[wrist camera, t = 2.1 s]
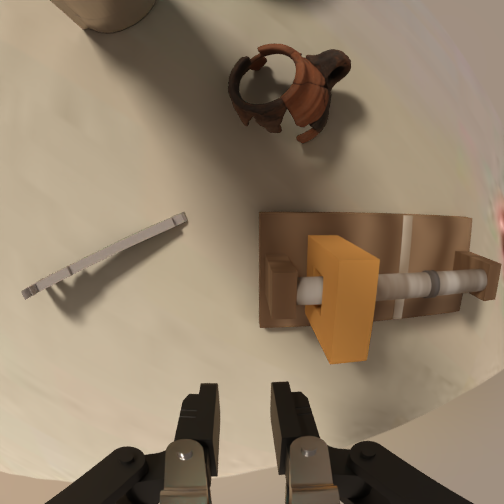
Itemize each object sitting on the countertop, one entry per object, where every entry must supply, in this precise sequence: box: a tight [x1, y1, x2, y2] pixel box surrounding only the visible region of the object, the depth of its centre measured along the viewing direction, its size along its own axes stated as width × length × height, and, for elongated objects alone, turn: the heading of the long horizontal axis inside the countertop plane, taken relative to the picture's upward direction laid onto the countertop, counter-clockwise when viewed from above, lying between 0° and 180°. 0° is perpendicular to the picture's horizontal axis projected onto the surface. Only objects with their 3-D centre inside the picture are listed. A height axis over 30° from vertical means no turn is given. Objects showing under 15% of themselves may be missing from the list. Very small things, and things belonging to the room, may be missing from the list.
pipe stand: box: [259, 212, 501, 328], centre depth 30 cm, size 26×12×8 cm, turn 90°
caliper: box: [21, 212, 187, 300], centre depth 30 cm, size 20×1×6 cm, turn 112°
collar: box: [305, 235, 380, 364], centre depth 26 cm, size 3×8×10 cm, turn 0°
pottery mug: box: [228, 44, 351, 143], centre depth 27 cm, size 12×10×8 cm
